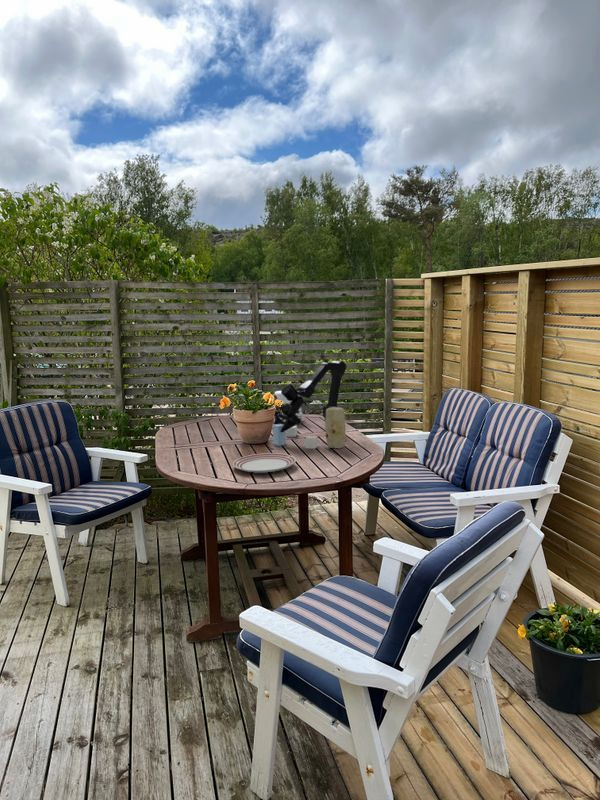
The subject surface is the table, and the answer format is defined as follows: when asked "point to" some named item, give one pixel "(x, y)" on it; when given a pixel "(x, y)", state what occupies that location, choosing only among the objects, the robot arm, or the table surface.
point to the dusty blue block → (279, 435)
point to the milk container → (282, 398)
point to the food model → (335, 427)
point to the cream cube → (311, 441)
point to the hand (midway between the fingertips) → (277, 430)
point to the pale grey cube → (291, 431)
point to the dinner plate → (264, 462)
